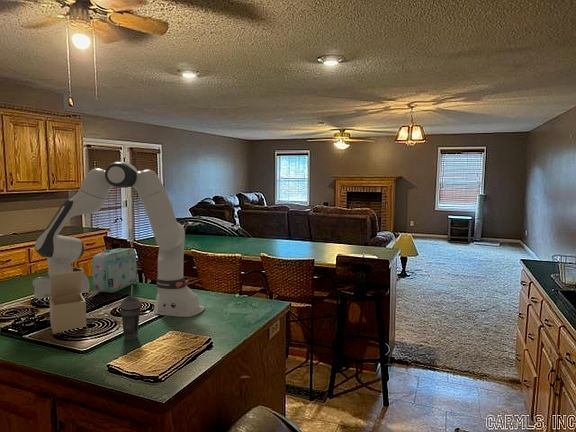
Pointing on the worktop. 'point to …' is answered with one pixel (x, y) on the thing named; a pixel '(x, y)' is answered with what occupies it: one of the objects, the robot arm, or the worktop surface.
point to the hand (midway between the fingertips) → (64, 303)
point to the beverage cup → (130, 316)
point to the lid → (65, 283)
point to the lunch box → (114, 269)
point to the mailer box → (67, 312)
